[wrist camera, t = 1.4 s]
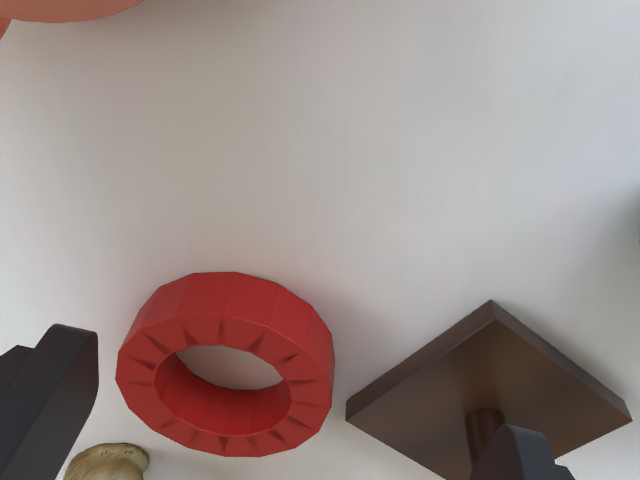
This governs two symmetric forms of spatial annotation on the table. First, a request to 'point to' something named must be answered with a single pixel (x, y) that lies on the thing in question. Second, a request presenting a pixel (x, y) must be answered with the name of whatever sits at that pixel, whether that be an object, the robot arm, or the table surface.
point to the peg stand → (483, 396)
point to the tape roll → (236, 332)
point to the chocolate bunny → (108, 463)
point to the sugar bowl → (59, 10)
